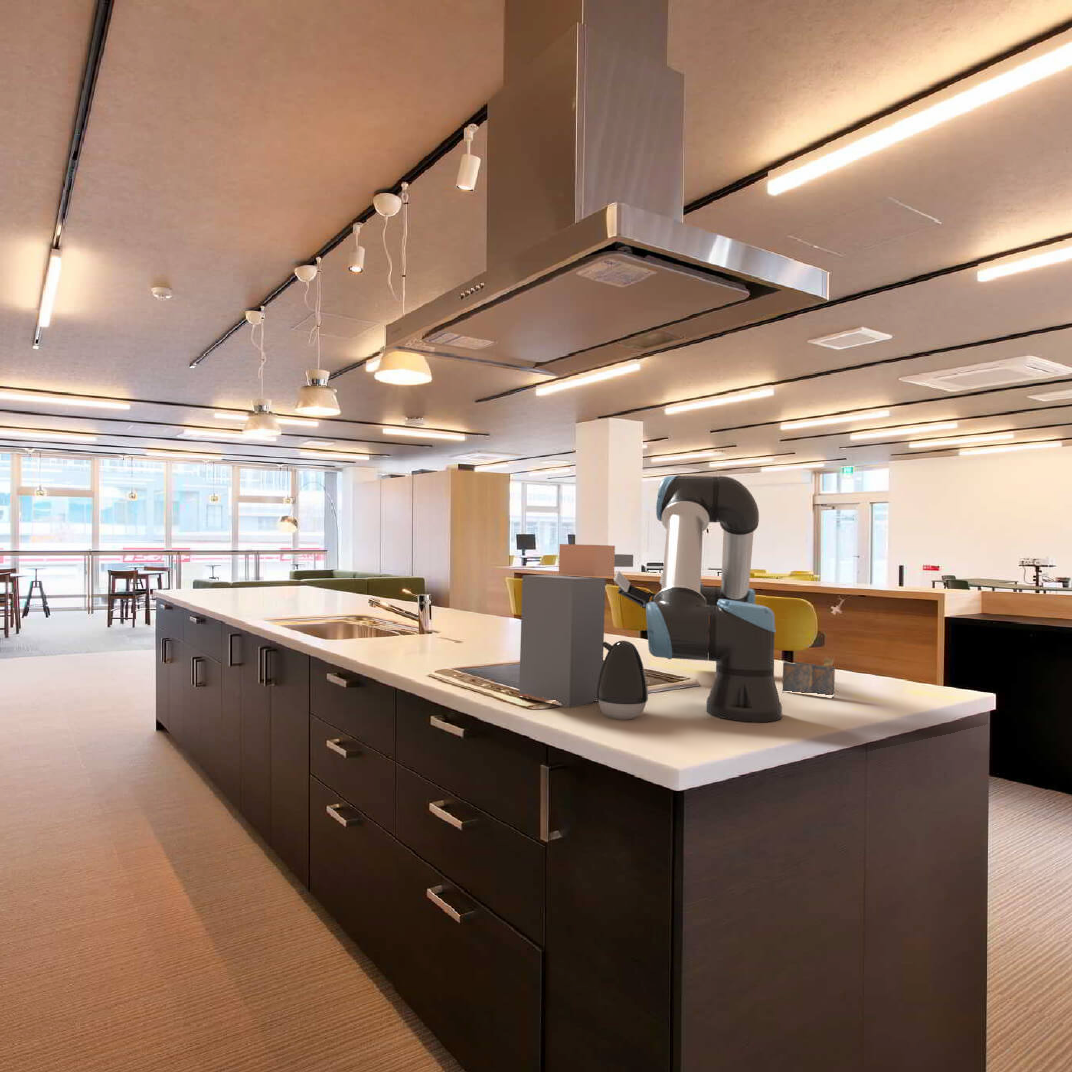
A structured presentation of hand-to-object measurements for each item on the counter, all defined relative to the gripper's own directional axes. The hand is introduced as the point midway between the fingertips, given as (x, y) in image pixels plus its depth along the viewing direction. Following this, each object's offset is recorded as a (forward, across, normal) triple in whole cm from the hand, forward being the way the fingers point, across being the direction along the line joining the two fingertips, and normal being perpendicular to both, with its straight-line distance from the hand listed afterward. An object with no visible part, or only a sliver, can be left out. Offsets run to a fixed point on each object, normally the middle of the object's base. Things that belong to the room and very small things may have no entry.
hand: (638, 576), depth 186 cm
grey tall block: (+14, 0, -39) cm, 41 cm away
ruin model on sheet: (-29, -37, -15) cm, 50 cm away
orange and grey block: (+14, 0, -7) cm, 16 cm away
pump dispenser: (+17, -19, -41) cm, 48 cm away
